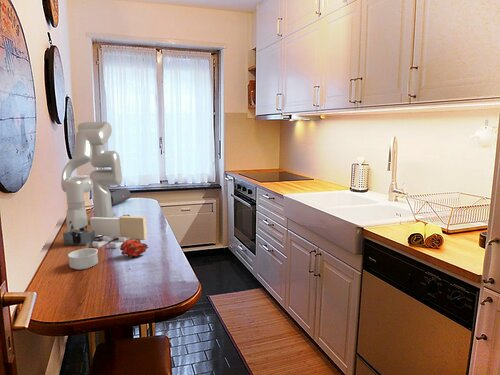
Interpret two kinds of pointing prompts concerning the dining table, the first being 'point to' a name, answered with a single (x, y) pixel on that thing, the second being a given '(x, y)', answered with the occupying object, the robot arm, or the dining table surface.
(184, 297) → the dining table surface
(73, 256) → the saucepan
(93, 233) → the grey metal block
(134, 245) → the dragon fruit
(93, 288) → the dining table surface
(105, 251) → the dining table surface
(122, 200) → the bluetooth speaker
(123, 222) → the white rack
